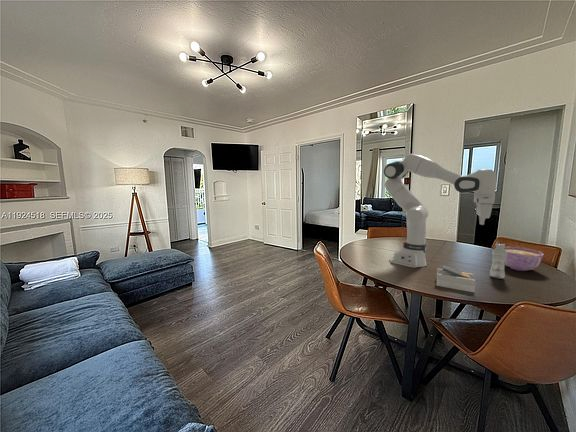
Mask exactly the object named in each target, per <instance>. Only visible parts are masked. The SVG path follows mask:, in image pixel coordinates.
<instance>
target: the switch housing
mask: <svg viewBox="0 0 576 432" xmlns="http://www.w3.org/2000/svg"><path fill="white" fill-rule="evenodd" d="M436 269H437V270H436V283H435V284H436V286H437V287H442V288H447V289H453V290H458V291H463V292H469V293H475V291H476V290H475V289H476V279H474V274H473V273H470V272H469V273H468V272H463V271H462V272H463V273H465V274H468V275H469V276H470V279H468V278H462V277H457V276H455V275H452V274H450V273H447V272H445V271H443V270H442V268H436Z"/></svg>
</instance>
